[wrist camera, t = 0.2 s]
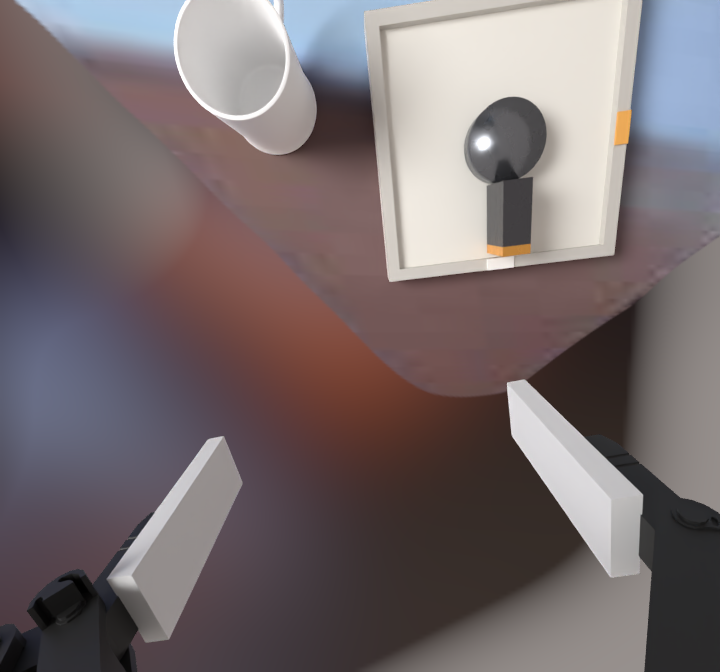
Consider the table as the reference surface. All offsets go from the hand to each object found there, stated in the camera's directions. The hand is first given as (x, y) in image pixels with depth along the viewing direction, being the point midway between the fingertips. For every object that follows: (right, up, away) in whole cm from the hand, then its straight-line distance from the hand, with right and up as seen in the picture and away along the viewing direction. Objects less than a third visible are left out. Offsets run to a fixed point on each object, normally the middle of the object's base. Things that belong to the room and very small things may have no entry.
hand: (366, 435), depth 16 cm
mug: (-8, +29, +19) cm, 36 cm away
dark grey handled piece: (+14, +20, +19) cm, 31 cm away
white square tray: (+13, +24, +20) cm, 34 cm away
